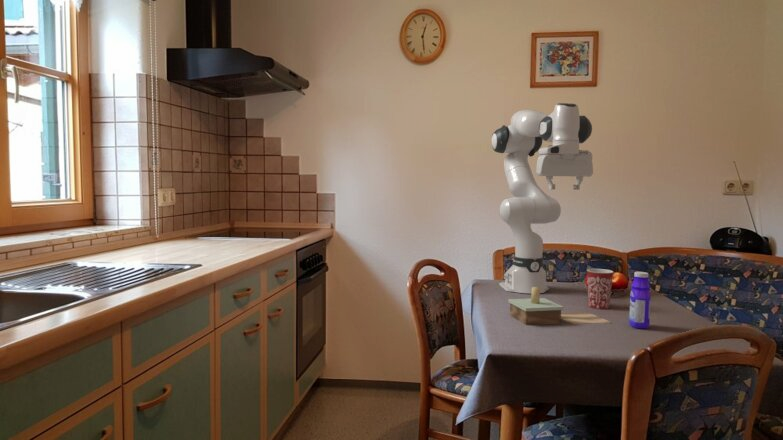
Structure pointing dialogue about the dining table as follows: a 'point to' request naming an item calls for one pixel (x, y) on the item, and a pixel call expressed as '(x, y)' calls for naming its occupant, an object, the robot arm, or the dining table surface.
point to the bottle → (640, 301)
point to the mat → (582, 318)
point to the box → (535, 316)
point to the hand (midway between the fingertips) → (564, 189)
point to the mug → (599, 288)
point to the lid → (535, 302)
